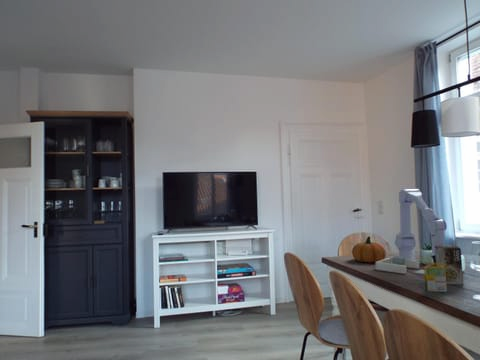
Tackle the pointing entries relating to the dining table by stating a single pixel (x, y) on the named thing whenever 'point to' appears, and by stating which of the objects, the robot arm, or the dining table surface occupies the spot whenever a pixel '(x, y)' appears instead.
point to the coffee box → (450, 263)
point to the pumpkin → (368, 252)
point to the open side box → (395, 265)
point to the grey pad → (420, 272)
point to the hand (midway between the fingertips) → (439, 271)
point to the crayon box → (435, 277)
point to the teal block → (398, 261)
